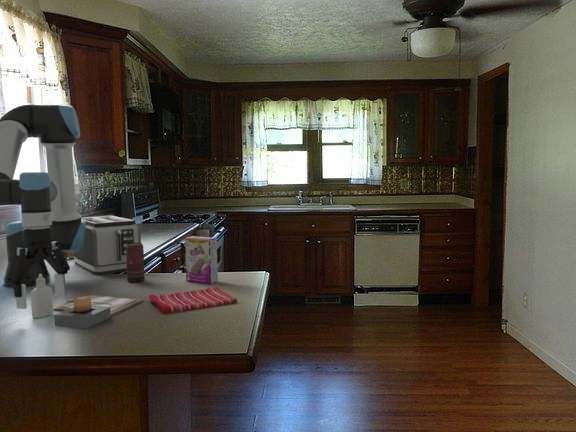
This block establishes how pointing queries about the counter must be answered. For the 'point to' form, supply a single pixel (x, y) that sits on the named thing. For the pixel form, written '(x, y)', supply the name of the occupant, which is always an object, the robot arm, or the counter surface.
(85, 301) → the button
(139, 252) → the can
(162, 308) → the dish towel
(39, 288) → the eye dropper bottle
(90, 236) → the toaster
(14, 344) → the counter surface
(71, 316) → the button housing
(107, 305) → the brown picture frame
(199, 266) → the candy bar box
